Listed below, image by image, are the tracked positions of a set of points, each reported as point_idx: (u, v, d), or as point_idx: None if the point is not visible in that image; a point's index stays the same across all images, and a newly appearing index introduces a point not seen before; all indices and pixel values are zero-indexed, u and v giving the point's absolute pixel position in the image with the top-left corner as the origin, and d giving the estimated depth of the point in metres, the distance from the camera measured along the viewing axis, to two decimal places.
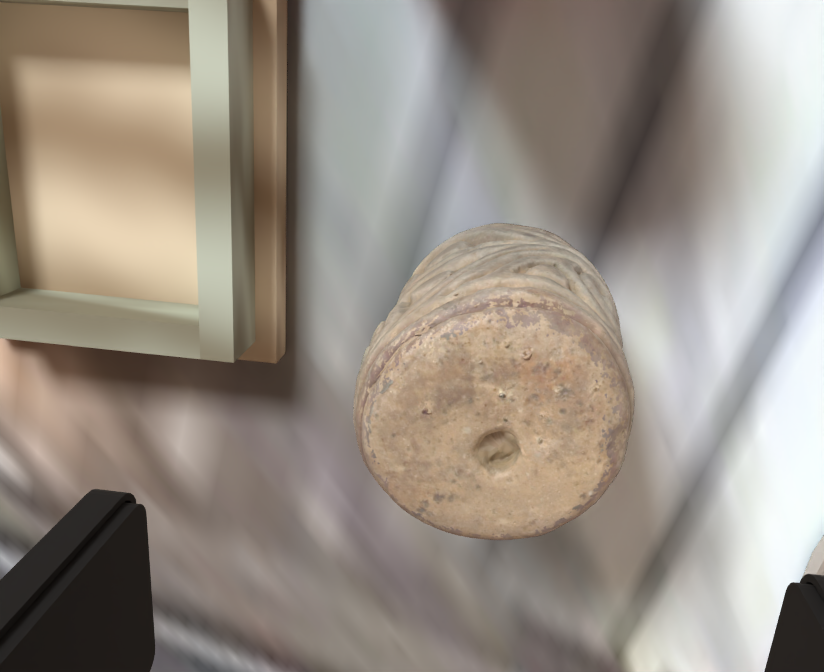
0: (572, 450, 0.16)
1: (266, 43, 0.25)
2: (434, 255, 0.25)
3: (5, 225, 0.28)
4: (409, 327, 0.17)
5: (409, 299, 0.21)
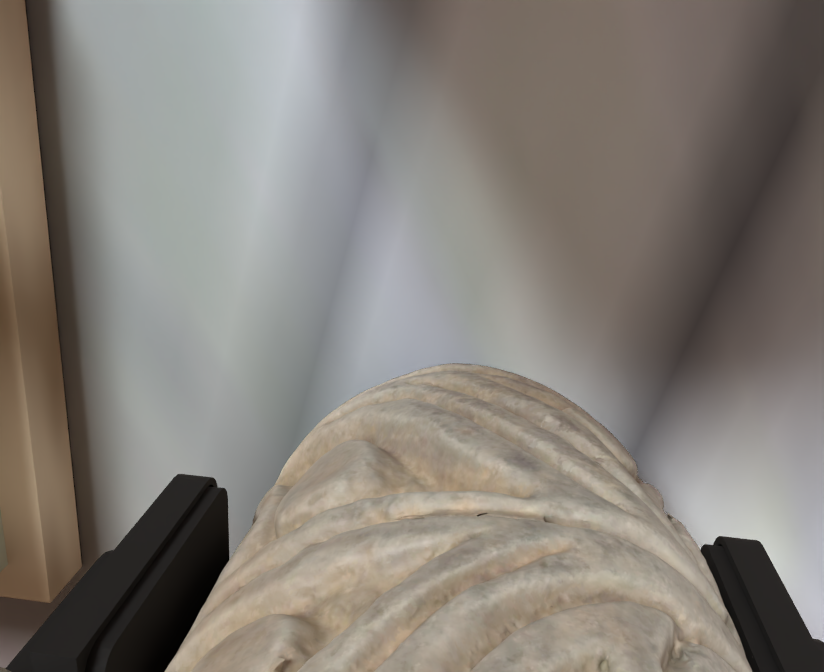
0: None
1: None
2: (320, 442, 0.12)
3: None
4: None
5: (198, 659, 0.08)
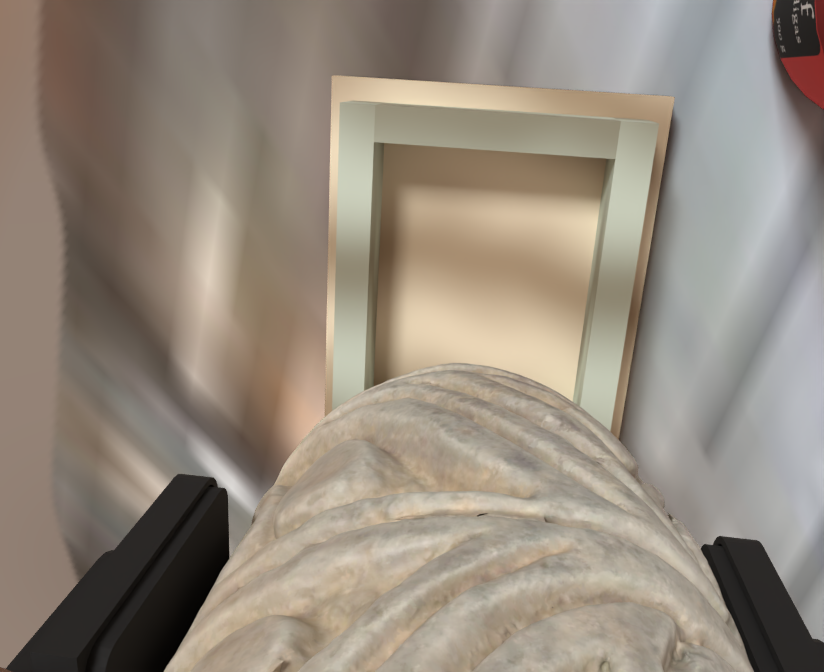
0: None
1: (651, 178, 0.27)
2: (319, 442, 0.12)
3: (374, 335, 0.30)
4: None
5: (196, 660, 0.08)
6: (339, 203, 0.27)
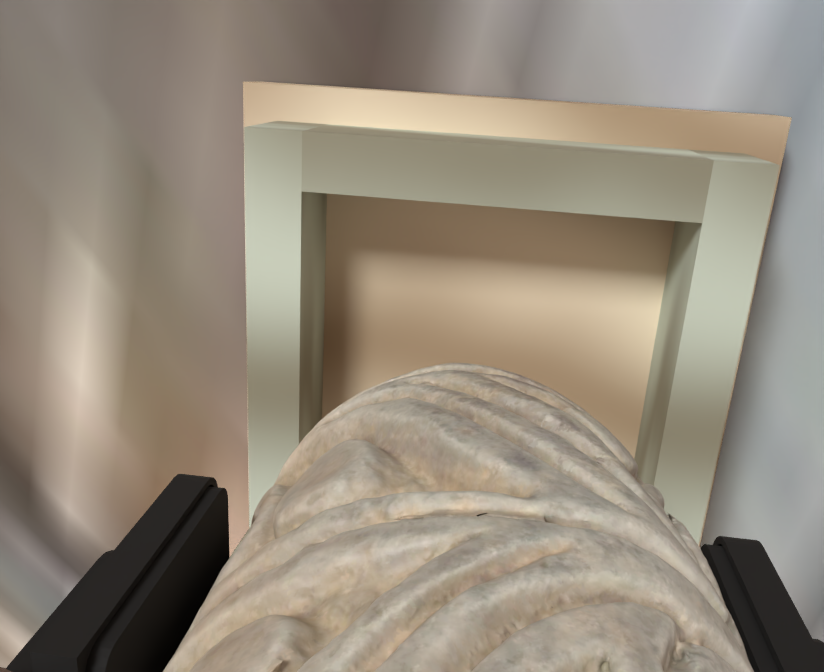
0: None
1: None
2: (319, 442, 0.12)
3: None
4: None
5: (195, 660, 0.08)
6: (249, 287, 0.16)
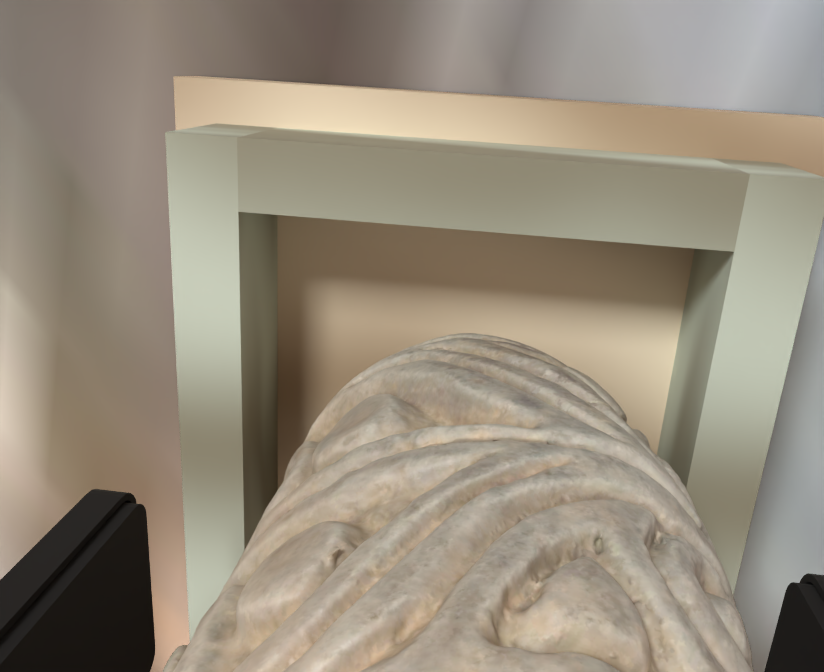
0: None
1: None
2: (345, 402, 0.13)
3: None
4: None
5: (257, 567, 0.09)
6: (179, 327, 0.14)
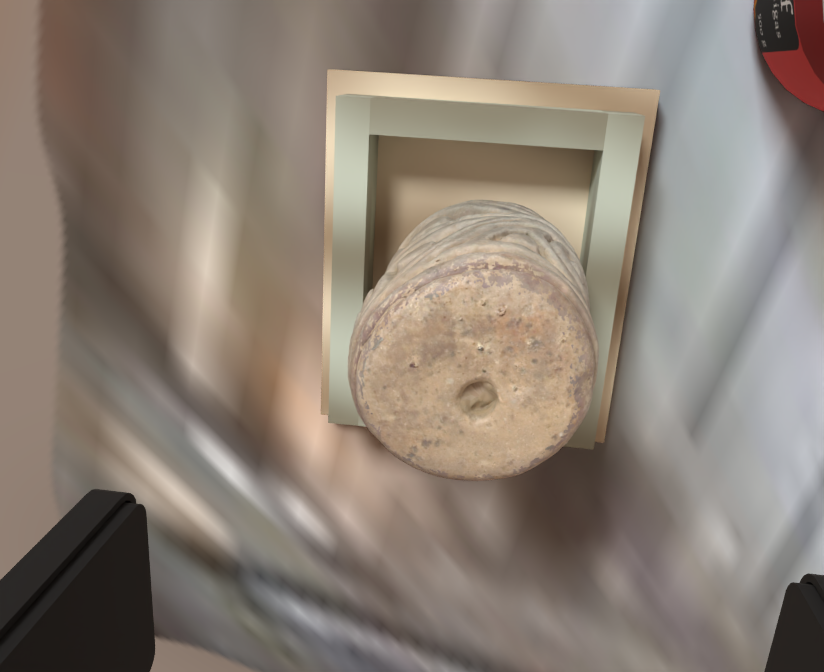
0: (544, 395, 0.19)
1: (638, 169, 0.28)
2: (418, 230, 0.27)
3: None
4: (396, 290, 0.19)
5: (395, 269, 0.23)
6: (335, 194, 0.27)
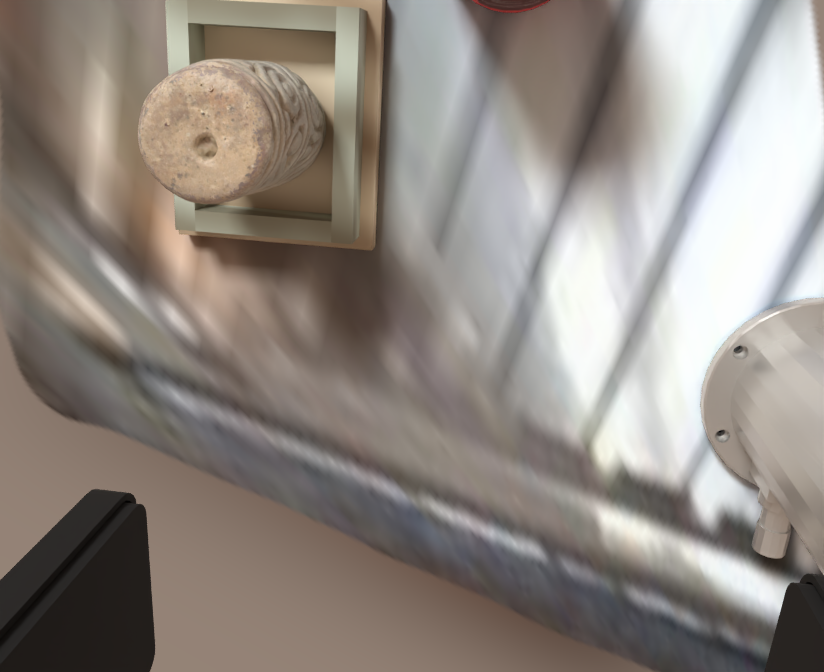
0: (240, 141, 0.32)
1: (374, 50, 0.42)
2: None
3: None
4: (159, 83, 0.33)
5: None
6: (169, 64, 0.41)
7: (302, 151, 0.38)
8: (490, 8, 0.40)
